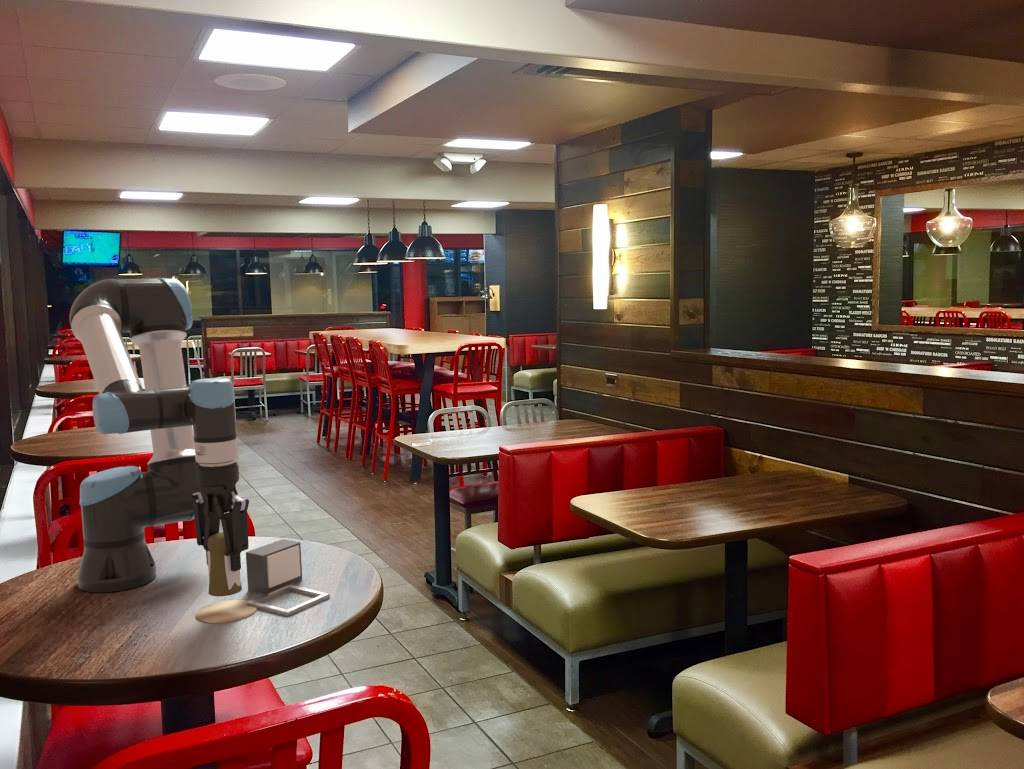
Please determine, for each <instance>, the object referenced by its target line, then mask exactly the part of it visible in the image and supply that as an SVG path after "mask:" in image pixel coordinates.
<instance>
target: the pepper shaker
mask: <svg viewBox="0 0 1024 769" xmlns="http://www.w3.org/2000/svg"><path fill="white" fill-rule="evenodd" d="M207 545H208V549H209V551H210V552H211V564H210V578H209V577H208V595H209V596H211V597H227V596H228V597H229V596H232V595H233V596H234V595H236V594H238V593H240V592H242V590H243V586H242V584H241V585H240V586H238V585H237V584H236V583H234V585H233V586H232V588H231V589H230V590H229V589H228V583H227V577H226V571H225V558H224V553H227V548H226V543H225V538H224V533H223V531H222V532H221V531H220V532H219V533H216V534H213V535H211V536H210V537H209V539H208V543H207ZM233 547H234V546H233Z"/></svg>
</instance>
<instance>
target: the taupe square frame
mask: <svg viewBox="0 0 1024 769" xmlns="http://www.w3.org/2000/svg"><path fill="white" fill-rule="evenodd" d="M288 592H292V593H297V594H301V595H306V596H311V597H313V598H311V599H309V600H307V601H304V602H302V603H300V604H297V605H295V606H293V607H291V608H287V609H286V608H283V607H278V606H275V605H271V604H267V603H264V602H266V601H269V600H271V599H273V598H275V597H278V596H280V595H282V594H285V593H288ZM330 596H331V595H330V593H327V592H324V591H319V590H315V589H310V588H306V587H303V586H297V585H293V584H291V585H287V586H285V587H282V588H280V589H277V590H275V591H273V592H270V593H268V594H265V595H264V594H262V595H261V596H258V597H256V598H253V599H251V600H247V601H248V602H247V605H251V606H255V607H257V610H262V611H265V612H268V613H272V614H275V615H281V616H284V617H290V616H293V615H295V614H297V613H299V612H300V611H303V610H306V609H307V608H310V607H313V606H314V605H316V604H319V603H321V602H324V601H325V600H328V599H330V598H331V597H330Z"/></svg>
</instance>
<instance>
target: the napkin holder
mask: <svg viewBox="0 0 1024 769" xmlns="http://www.w3.org/2000/svg"><path fill="white" fill-rule="evenodd" d="M301 548H302V546H301V542H299V541H294V540H289V539H284V538H283V539H279V540H277V541H274V542H270V543H268V544H265V545H263V546H259V547H256V548H254V549H251V550H248V551H246V552H245V560H246V563H245V564H246V577H247V580H246V581H247V591H248V592H251V593H252V592H253V593H256V594H259V595H260V594H261V595H265V594H268V593H270V592H273V591H275V590H277V589H280V588H282V587H285V586H287V585H293V584H295V583H298V582H300V581H303V570H302V569H303V567H302V549H301Z"/></svg>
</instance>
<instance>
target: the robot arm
mask: <svg viewBox="0 0 1024 769" xmlns="http://www.w3.org/2000/svg"><path fill="white" fill-rule="evenodd" d="M68 318H69V320H68V321H69V326H70V329H71V332H72V334H73V336H74V337H75V339H77V340H78V341H79V342H80V343H81V345H82V348H83V351H84V353H85V356H86V359H87V362H88V365H89V368H90V370H91V373H92V376H93V380H94V382H95V385H96V388H97V391H98V394H96V395H95V396H94V397H93V399H92V417H93V420H94V421H93V422H94V427H95V430H97V432H98V433H99V434H101V435H111V434H113V435H114V434H118V435H122V434H126V433H135V432H144V431H150V437H151V445H152V451H153V453H152V454H153V455H152V457H151V458H150V459H149V461H148V462H147V471H142V470H140V467H138V466H135V465H127V466H118V467H113V468H109V469H105V470H102V471H99V472H96V473H92V474H90V475H88V476H87V477H85V478H84V479H83V480H82V482H81V483H80V486H79V505H80V509H81V510H80V512H81V522H82V524H81V525H82V534H83V535H82V536H83V538H82V539H83V554H82V557H81V561H80V566H79V569H78V573H77V577H76V578H77V588H78V589H79V590H81V591H83V592H88V593H112V592H120V591H126V590H130V589H133V588H137V587H139V586H140V587H141V586H143V585H145V584H147V583H150V582H152V581H153V580H154V579H155V578H156V577H157V566H156V565H157V564H156V562H155V560H154V558H153V554H152V553H151V551H150V549H149V546H148V545H147V542H146V536H145V535H146V534H145V528H148V527H155V526H162V525H168V524H173V523H174V524H175V523H180V522H187V521H188V522H190V521H193V520H194V523H195V524H194V525H195V536H196V543H197V545H198V546H202V547H203V549H204V550H205V559H206V565H207V570H208V579H209V578H210V564H211V552H210V551H209V549H208V545H207V543H208V539H209V537H210V536H211V535H213V534H216V533H220V526H221V527H222V528H221V529H222V532H223V533H224V538H225V543H226V548H227V553H224V558H225V571H226V577H227V583H228V589H229V590H230V589H231V588H232V586H233V585H234V583H236V584H237V585H238V586H240V585H241V586H242V581H241V568H242V565H241V564H242V562H241V561H242V560H241V552H244V551H247V550H248V549H249V525H248V524H249V523H248V509H249V504H250V501H249V498H247V497H246V498H242V497H240V496H239V493H238V490H237V488H236V485H237V483H238V482H239V480H240V471H239V470H240V468H239V463H238V462H237V461H236V460H238V459H239V450H238V448H239V447H238V437H237V422H236V421H237V420H236V410H235V409H236V405H235V401H236V395H235V392H234V385H233V381H232V380H231V379H229V378H224V377H211V378H210V377H209V378H208V377H207V378H200V379H195V380H193V381H192V382H191V383H190V384H187V381H186V380H187V379H186V373H185V365H184V359H183V358H184V357H183V352H182V351H183V350H182V342H183V341H184V340H185V339H186V338H187V336H188V335H187V330H190V329H191V328H192V326H193V323H194V322H193V321H194V317H193V307H192V302H191V299H190V295H189V293H188V290H187V289H186V287H185V285H184V284H183V283H182V282H181V281H180V280H178V279H176V278H163V277H152V278H120V279H119V278H117V279H116V278H109V279H108V278H107V279H102V280H99V281H96V282H94V283H91V284H90V285H89V286H88V287H86V288H85V289H83V290H82V291H81V292H80V293H79V294H78V296H76V298H75V299H74V301H73V303H72V305H71V308H70V311H69V317H68ZM122 333H129V337H130V342H131V343H132V344H133V345H134V346H136V347H138V349H139V354H140V362H141V369H142V378H143V386H144V388H143V386H142V382H141V381H140V377H139V374H138V373H137V370H136V368H135V364H134V363H133V360H132V357H131V356H130V353H129V350H128V348H127V346H126V343H125V341H124V337H123V336H122ZM220 523H221V525H220ZM233 546H234V547H233Z"/></svg>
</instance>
